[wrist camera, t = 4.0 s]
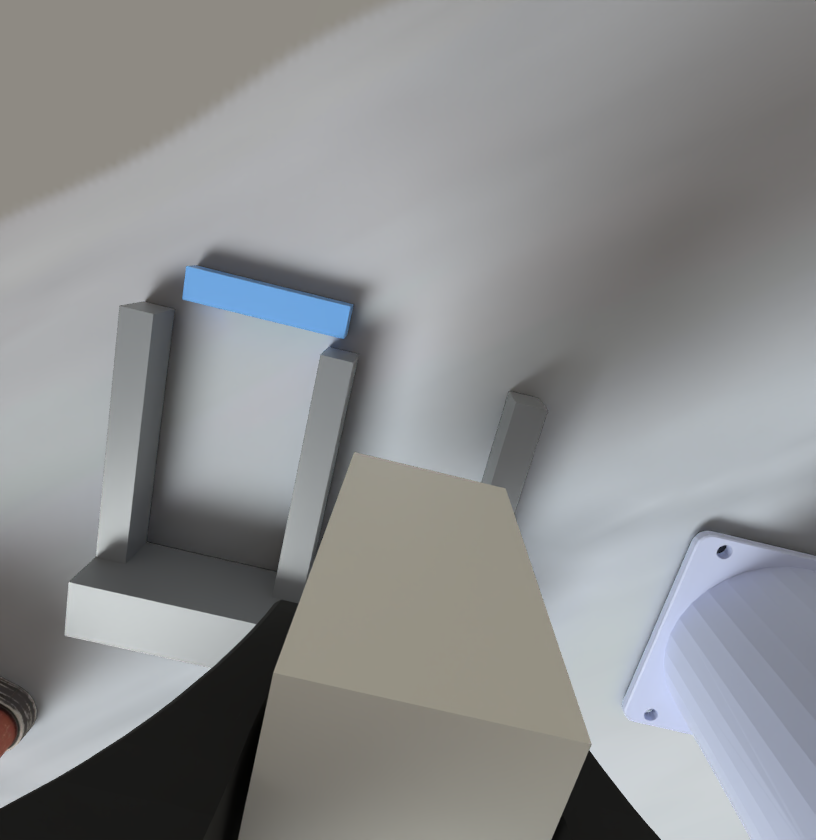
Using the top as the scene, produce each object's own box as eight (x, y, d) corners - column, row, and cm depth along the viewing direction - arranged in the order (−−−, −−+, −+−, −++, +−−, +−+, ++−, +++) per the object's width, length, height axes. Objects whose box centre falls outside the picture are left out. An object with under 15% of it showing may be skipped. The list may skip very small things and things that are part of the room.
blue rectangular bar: (353, 304, 18) (350, 306, 17) (347, 335, 18) (343, 339, 17) (196, 265, 18) (186, 265, 17) (192, 297, 18) (182, 299, 17)
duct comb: (538, 397, 19) (559, 424, 16) (455, 659, 22) (460, 722, 19) (143, 301, 18) (91, 310, 15) (113, 583, 21) (64, 635, 18)
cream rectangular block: (505, 488, 13) (590, 743, 6) (438, 700, 15) (448, 1083, 8) (354, 451, 13) (273, 673, 6) (304, 669, 14) (196, 1033, 8)
